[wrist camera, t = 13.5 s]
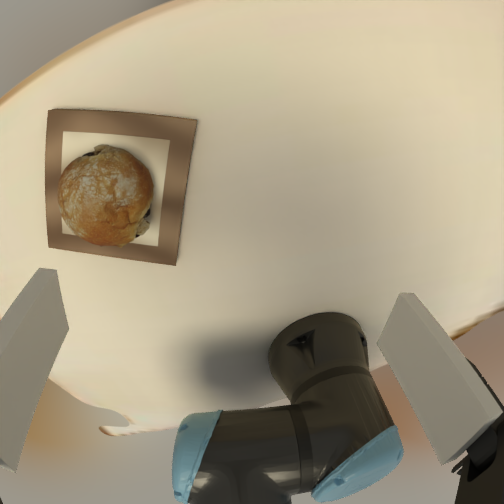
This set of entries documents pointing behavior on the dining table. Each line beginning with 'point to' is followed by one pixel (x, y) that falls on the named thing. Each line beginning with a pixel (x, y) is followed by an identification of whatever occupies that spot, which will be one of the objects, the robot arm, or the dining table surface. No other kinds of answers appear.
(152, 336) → the dining table surface
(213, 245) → the dining table surface
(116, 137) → the walnut frame
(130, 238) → the bread roll
